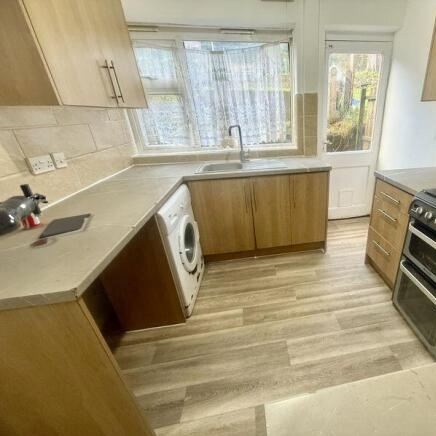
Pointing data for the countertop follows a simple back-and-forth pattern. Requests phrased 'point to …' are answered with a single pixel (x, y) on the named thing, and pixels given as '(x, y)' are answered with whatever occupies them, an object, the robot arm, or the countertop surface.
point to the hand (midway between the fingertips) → (32, 196)
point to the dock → (40, 242)
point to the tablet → (64, 225)
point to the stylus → (28, 192)
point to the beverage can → (31, 221)
